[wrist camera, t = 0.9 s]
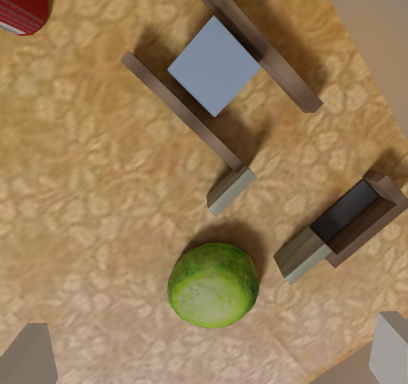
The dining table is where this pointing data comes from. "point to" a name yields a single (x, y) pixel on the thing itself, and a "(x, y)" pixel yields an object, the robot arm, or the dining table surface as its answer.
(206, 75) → the block
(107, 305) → the dining table surface
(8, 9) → the soda can
